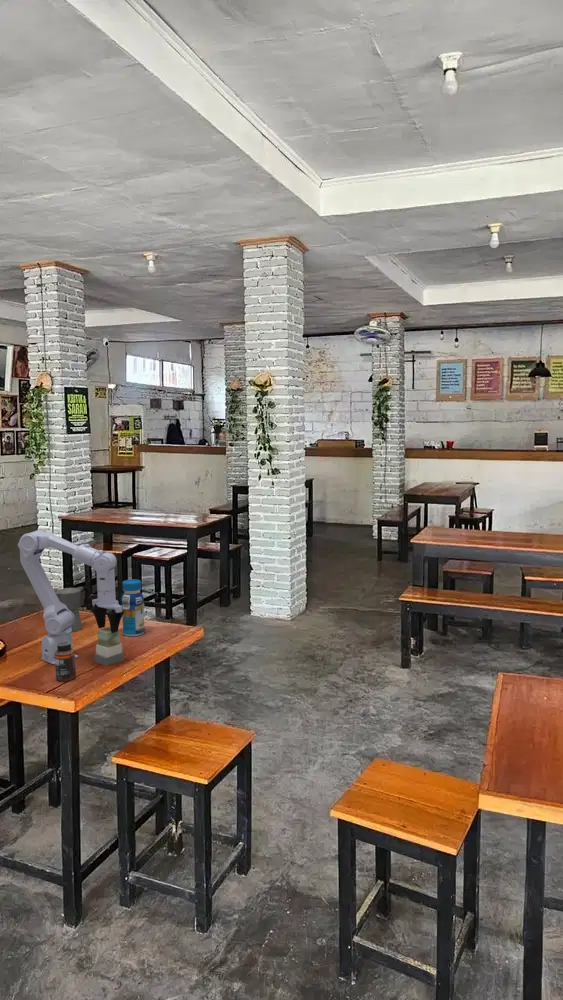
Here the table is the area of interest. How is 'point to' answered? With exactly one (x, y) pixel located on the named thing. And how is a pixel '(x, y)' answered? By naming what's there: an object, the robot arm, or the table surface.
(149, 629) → the table surface
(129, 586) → the beverage bottle
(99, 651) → the tower top
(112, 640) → the sage block
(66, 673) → the supplement bottle
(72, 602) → the coffeepot
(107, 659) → the tower base
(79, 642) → the table surface
